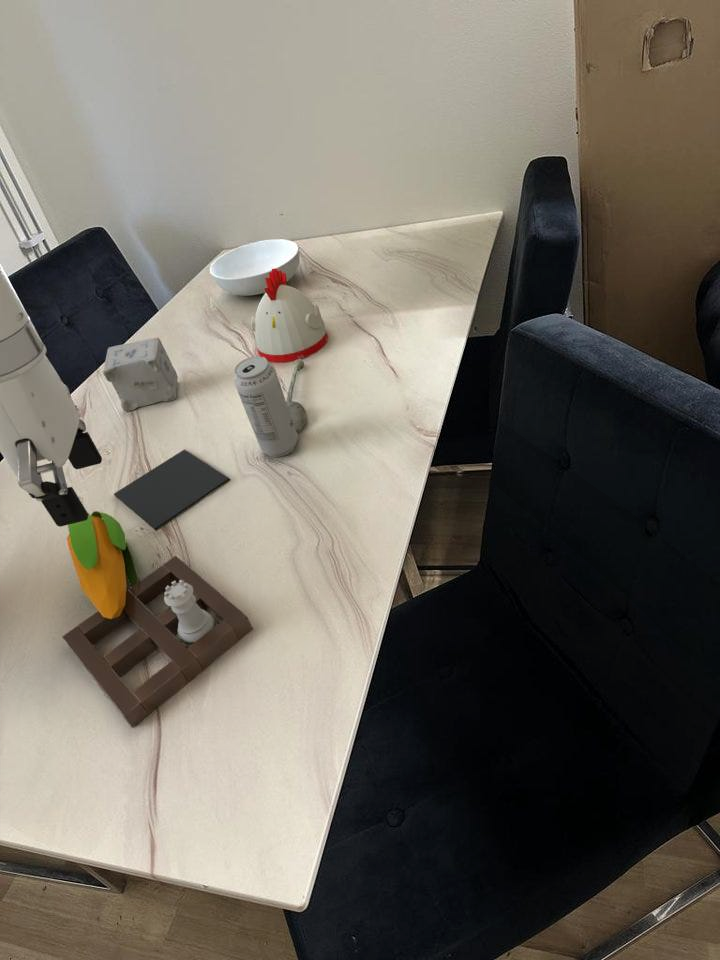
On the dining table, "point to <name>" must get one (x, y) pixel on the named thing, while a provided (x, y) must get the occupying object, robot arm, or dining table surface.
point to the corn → (102, 562)
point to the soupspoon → (294, 407)
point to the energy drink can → (265, 406)
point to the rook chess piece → (188, 613)
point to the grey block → (141, 373)
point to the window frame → (156, 641)
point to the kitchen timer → (287, 323)
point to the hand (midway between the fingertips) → (81, 491)
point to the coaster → (171, 488)
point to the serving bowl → (254, 265)
